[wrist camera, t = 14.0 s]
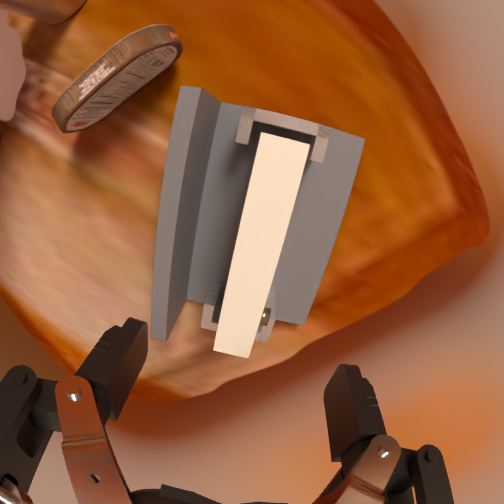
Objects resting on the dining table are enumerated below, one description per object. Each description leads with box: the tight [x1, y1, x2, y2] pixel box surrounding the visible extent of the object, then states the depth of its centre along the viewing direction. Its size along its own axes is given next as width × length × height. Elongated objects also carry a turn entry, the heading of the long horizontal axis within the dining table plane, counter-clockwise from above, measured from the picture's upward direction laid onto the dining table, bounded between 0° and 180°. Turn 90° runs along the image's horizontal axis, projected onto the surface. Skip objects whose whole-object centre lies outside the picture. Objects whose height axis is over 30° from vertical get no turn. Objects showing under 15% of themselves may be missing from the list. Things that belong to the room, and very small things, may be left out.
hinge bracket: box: [151, 86, 365, 343], centre depth 25 cm, size 16×22×10 cm
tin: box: [51, 24, 183, 133], centre depth 21 cm, size 15×3×8 cm, turn 119°
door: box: [213, 132, 310, 358], centre depth 24 cm, size 4×17×10 cm, turn 167°
